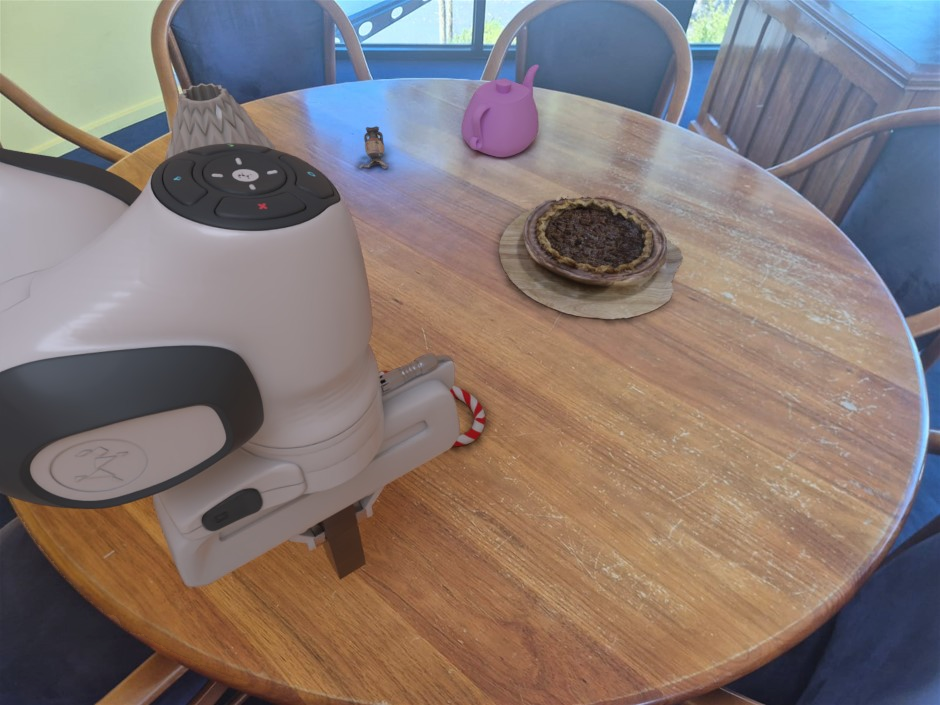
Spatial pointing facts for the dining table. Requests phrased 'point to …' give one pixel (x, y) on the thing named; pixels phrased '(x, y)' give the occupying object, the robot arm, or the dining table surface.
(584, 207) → the pie
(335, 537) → the stick
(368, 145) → the vase
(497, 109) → the teapot
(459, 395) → the candy cane
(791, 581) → the dining table surface
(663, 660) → the dining table surface
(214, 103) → the vase
